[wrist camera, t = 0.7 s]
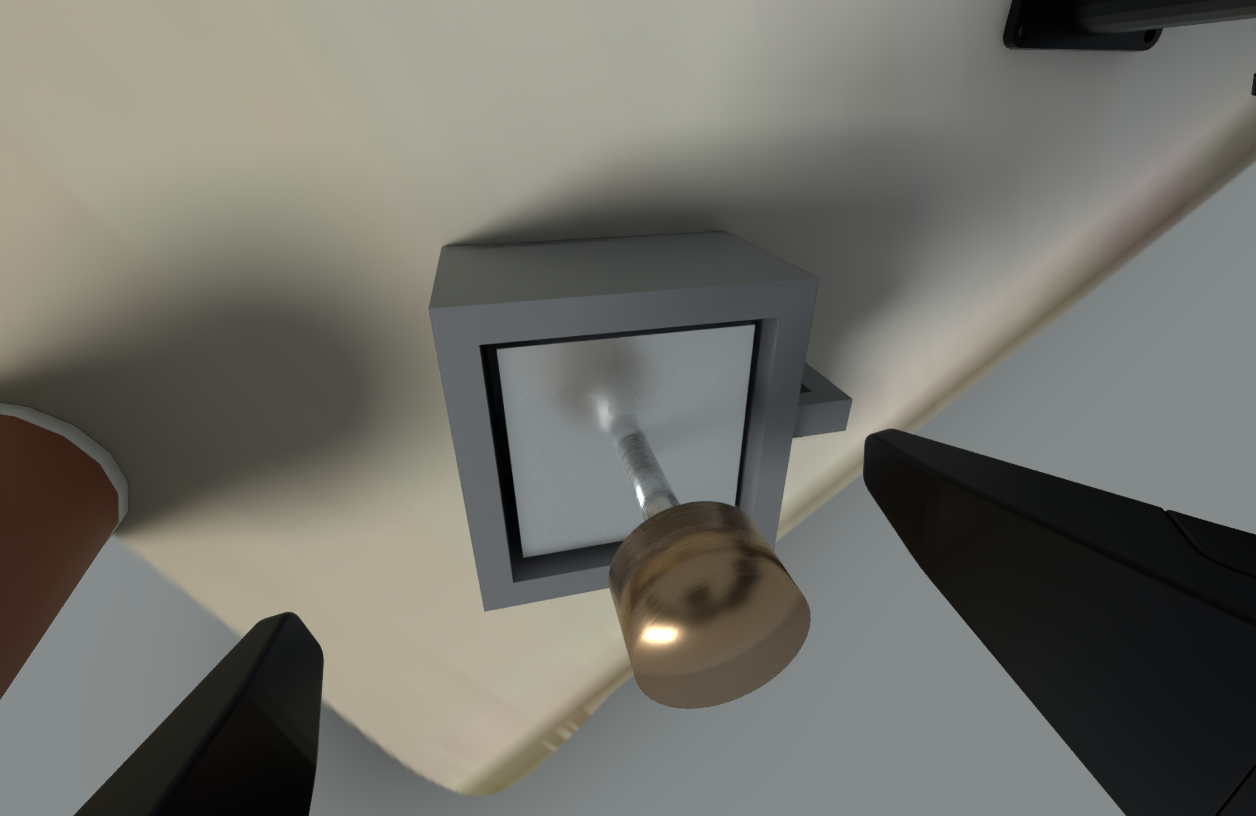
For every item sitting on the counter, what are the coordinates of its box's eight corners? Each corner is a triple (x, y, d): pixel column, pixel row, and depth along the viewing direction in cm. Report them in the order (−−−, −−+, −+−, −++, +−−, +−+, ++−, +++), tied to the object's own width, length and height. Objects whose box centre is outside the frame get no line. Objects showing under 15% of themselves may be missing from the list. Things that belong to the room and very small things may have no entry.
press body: (786, 227, 21) (899, 272, 15) (757, 449, 26) (835, 544, 20) (442, 246, 18) (428, 308, 13) (481, 490, 23) (484, 611, 18)
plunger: (746, 317, 16) (934, 465, 10) (726, 510, 20) (854, 717, 13) (496, 340, 15) (515, 534, 8) (522, 545, 18) (550, 797, 12)
